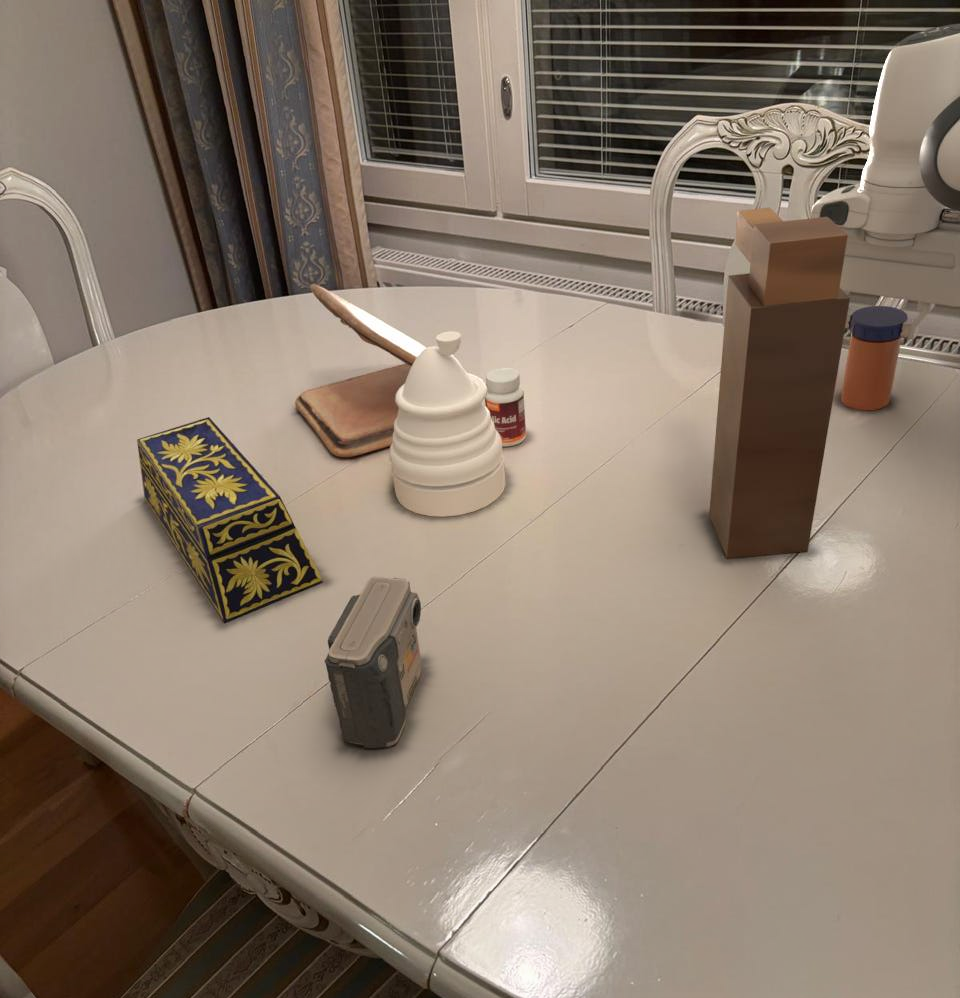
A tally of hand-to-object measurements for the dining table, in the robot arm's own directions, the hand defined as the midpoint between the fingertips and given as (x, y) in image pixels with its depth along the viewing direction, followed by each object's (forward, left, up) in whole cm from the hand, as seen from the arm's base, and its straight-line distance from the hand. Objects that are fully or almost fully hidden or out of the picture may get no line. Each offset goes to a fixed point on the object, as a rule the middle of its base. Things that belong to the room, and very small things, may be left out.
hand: (875, 331), depth 107 cm
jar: (0, 0, -9) cm, 9 cm away
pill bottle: (+26, +36, -9) cm, 45 cm away
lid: (0, 0, +1) cm, 1 cm away
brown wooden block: (-6, +29, +16) cm, 34 cm away
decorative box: (+32, +72, -9) cm, 79 cm away
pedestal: (-9, +32, -9) cm, 34 cm away
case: (+44, +42, -9) cm, 61 cm away
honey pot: (+22, +48, -9) cm, 53 cm away
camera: (-3, +74, -9) cm, 74 cm away
